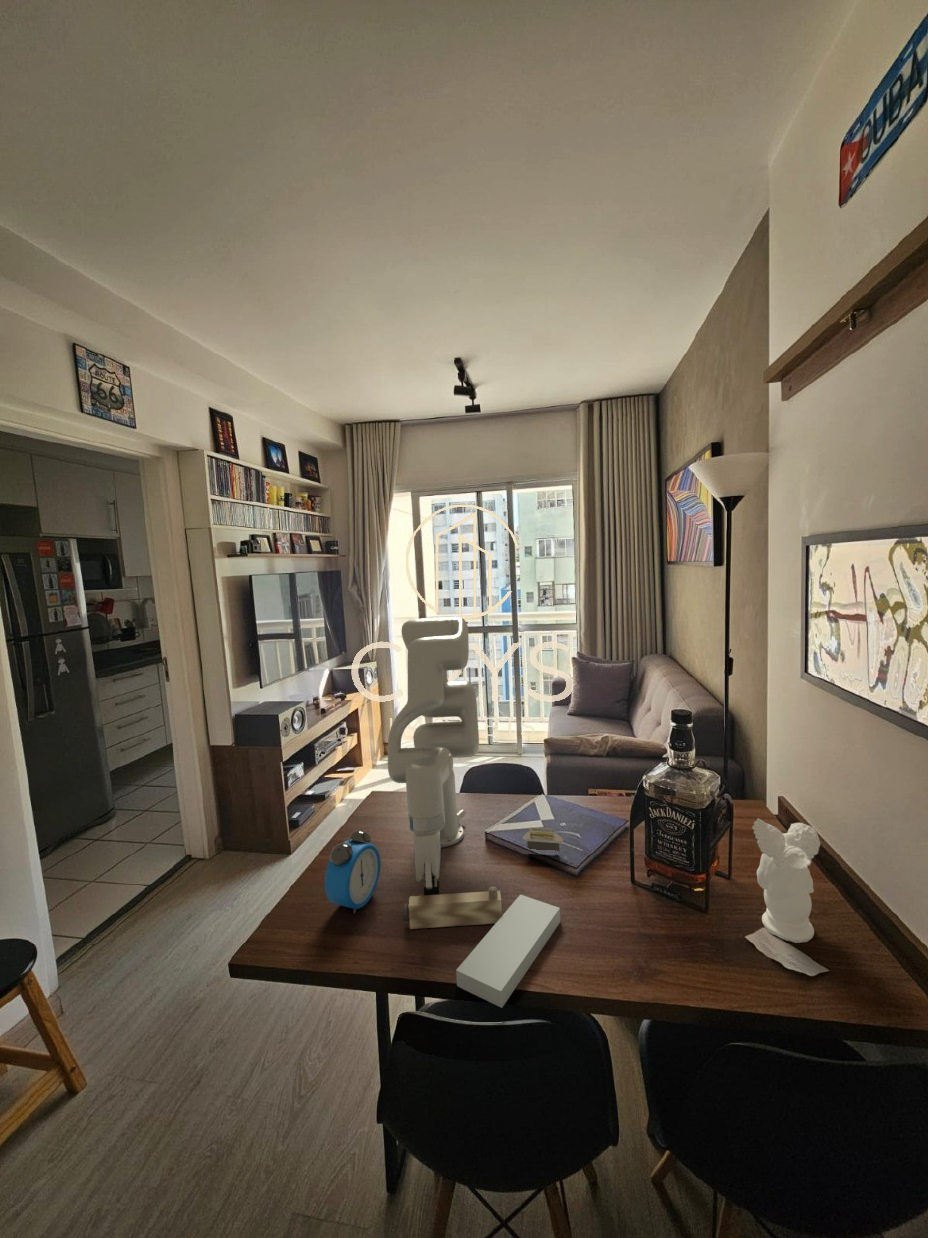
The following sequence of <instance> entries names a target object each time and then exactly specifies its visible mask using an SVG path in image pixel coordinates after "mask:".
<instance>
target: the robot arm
mask: <svg viewBox="0 0 928 1238" xmlns="http://www.w3.org/2000/svg"><path fill="white" fill-rule="evenodd" d="M400 631H401V637H402V640H403V643H404V646H405V648H406V649H407V650H406V651H407V700H406V704H405V705H404V706H403V708H401V710H400V711H399V712H398V714H397V715H396V717H395V718H394V720H393V722H392V724H391V726H390V729H389V733H388V738H387V772H388V775H389V777H390V780H391V781H393V782H394V783H397V784H405V786H406V787H405V788H406V800H407V801H406V802H407V815H408V829H409V830H410V831H411V832H412V833H413V847H414V848H413V851H414V852H413V853H414V870H415V871H414V875H415V876H414V877H415V881H416V882H420V881H422V879H423V885H422V887H423V896H425V895H440V881H439V878H440V867H441V848H446V847H451V846H453V845H455V844H457V843H459V842H460V841H461V840H462V839H463V837H464V836H465V835H464V834H465V833H464V832H465V831H464V828H463V826H462V825H460V821H461V819H462V818H464V817H465V816H466V811H465V810H464V809H460V810H459V811H458V809H457V794H456V793H457V792H456V779H455V778H456V777H455V772H454V759H461V758H463V759H464V758H472V757H474V756H475V755H477V754H478V752H479V749H480V736H479V735H480V733H479V732H480V731H479V720H478V704H477V703H478V702H477V694H476V690H475V687H474V685H473V683H471V682H470V681H467V680H448V671H460V670H464V669H465V668H466V667H467V665H468V661H469V656H470V655H469V652H470V651H469V650H470V648H469V644H470V643H469V626H468V622H466V620H465V618H463V617H461V616H446V617H444V616H443V617H442V616H441V617H424V618H423V617H422V618H415V619H410V620H407V621H405V622H404V623H403V624H402V626H401V630H400ZM421 716H422V717H423V718H428V719H429V718H431V719H433V718H460V721H440V722H439V721H438V722H427V723H424V724H423V723H422V724H420V725H419V726H417V728H415V730H414V733H413V736H412V738H413V746H414V747H402V737H403V734H404V732H405V730H406V728H407V727H408V726H409V725H410V724H411V723H412V722H414V721H415V720H416V719H418V718H420V717H421Z"/></svg>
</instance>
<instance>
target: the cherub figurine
mask: <svg viewBox="0 0 928 1238" xmlns="http://www.w3.org/2000/svg"><path fill="white" fill-rule="evenodd" d="M752 830H754V831H753V834H754V835H755V839H757V841H756V843H757V845H758V848H759V849H760V852H761V853H762V854H761V856H760V859H759V860H760V861H759V866H758V868H757V869H756V876H757V879H756V880H757V883H758V885H759V887H760V888H762V890H763V898H764V904H765V906H766V909H765V910H766V911H765V912H764V913H763V914H762V916H761V921H762V924H763V927H765V929H766V931H767V932H768V933H770V934H772V935H774V936H777V937H778V938H779V939H782V940H785V941H787V942H792V943H795V944H798V943H799V944H800V943H807V942H809V941H810V940H811V939H813V937H814V936H815V929H814V927H813V925H812V923H811V922H810V918H809V917H810V914H811V912H812V905H813V904H812V898H811V895H810V894H812V893H814V891H815V890H814V881H813V878H812V875H811V871H810V868H808V866H811V864H812V859H814V858H815V856H816V855H818V854H819V850H820V847H821V841H820V838H819V834H818V831H816V829H815V828H814V827H812V826H811V825H808V824H807V823H806V824H805V823H803V822H795V823H790V827H789V828H788V830H787V832H785V833H784V832H782V831H781V830H780V829H779V828H777V827H776V826H774V825H771V823H770V824H769V823H767V822H765V821H764V820H762V819H761V818H759V817H758V818H757V819H756V820H755V821H754V822H753V825H752Z"/></svg>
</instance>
